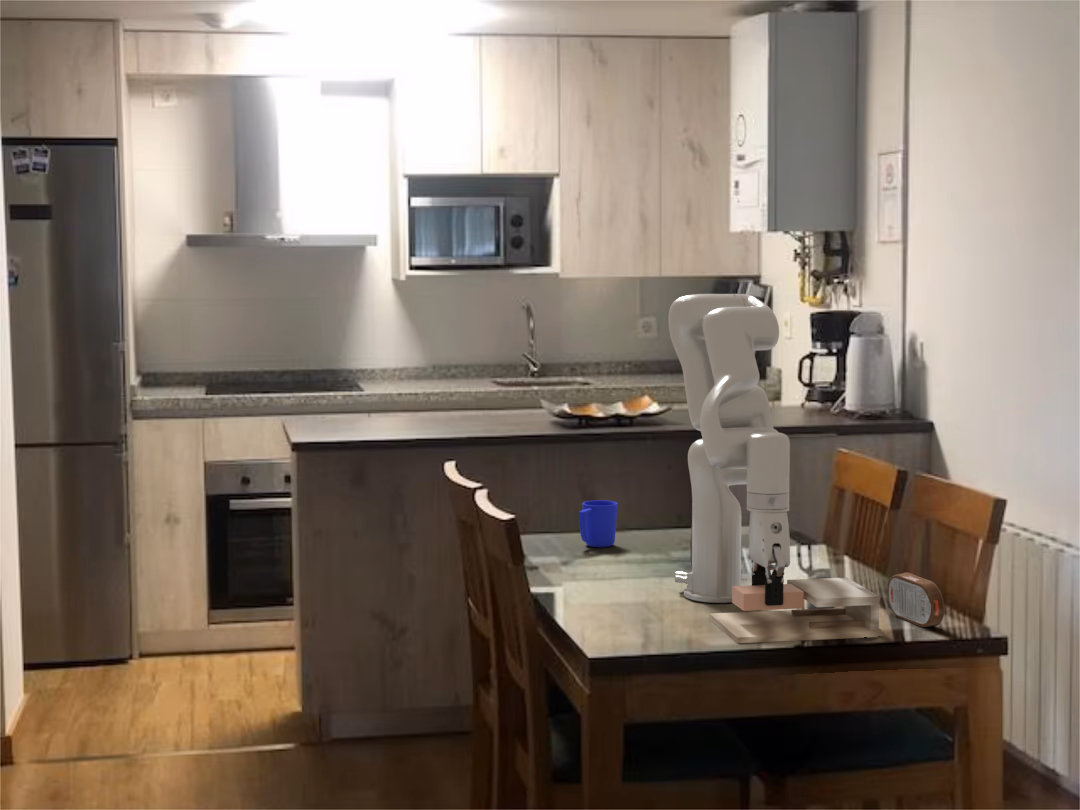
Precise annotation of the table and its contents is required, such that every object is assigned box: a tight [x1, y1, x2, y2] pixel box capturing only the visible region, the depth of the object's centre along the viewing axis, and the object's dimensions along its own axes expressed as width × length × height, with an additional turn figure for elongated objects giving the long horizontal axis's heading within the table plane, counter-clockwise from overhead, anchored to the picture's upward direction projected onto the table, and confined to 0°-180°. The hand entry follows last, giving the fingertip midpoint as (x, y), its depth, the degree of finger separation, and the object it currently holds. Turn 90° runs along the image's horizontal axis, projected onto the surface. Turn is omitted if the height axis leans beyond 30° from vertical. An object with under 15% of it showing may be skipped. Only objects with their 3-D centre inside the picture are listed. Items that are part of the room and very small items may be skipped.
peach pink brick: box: [731, 583, 805, 612], centre depth 270 cm, size 11×7×3 cm, turn 99°
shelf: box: [708, 577, 885, 644], centre depth 271 cm, size 26×18×7 cm
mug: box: [578, 499, 618, 548], centre depth 348 cm, size 8×12×10 cm
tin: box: [887, 572, 945, 628], centre depth 275 cm, size 15×3×8 cm, turn 20°
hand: (767, 599), depth 270 cm, fingers closed on peach pink brick, 7 cm apart
